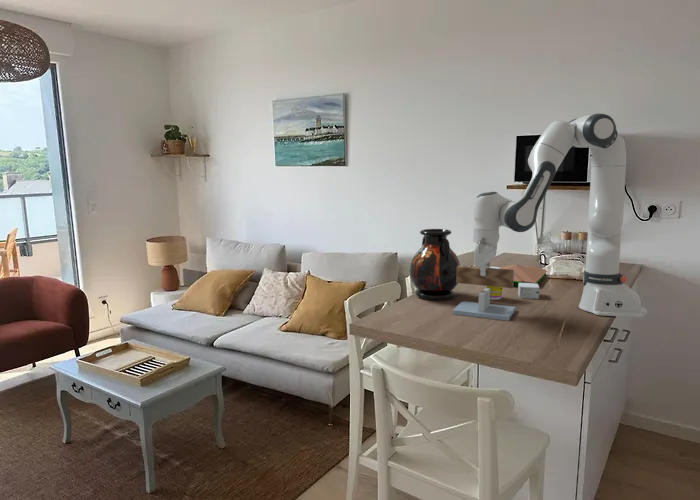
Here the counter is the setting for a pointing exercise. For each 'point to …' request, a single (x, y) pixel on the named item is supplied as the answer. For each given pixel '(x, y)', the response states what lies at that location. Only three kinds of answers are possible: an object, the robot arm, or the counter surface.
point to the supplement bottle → (495, 291)
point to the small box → (528, 290)
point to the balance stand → (484, 308)
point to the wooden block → (490, 279)
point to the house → (526, 273)
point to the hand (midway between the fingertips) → (484, 274)
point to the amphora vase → (434, 266)
